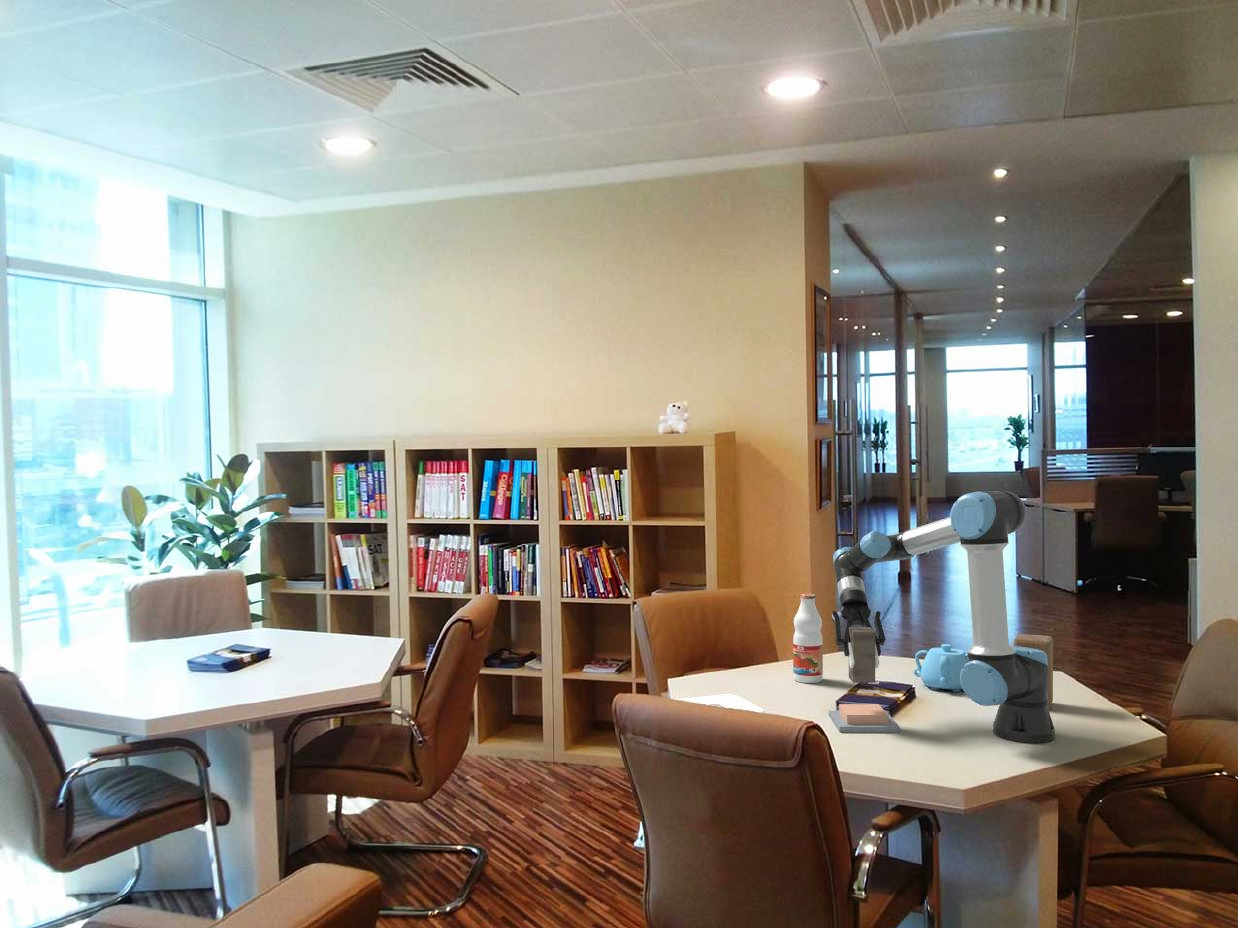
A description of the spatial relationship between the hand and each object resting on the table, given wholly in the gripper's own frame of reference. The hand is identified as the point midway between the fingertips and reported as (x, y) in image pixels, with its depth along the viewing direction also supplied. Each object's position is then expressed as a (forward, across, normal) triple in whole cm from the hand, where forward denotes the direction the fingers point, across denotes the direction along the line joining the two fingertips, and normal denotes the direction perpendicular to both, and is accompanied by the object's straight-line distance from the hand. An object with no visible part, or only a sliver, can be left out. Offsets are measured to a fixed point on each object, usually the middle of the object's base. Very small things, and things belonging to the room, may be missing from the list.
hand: (864, 665), depth 270 cm
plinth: (+10, 0, -14) cm, 17 cm away
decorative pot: (-19, -35, -43) cm, 58 cm away
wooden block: (-4, -54, -28) cm, 61 cm away
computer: (+3, +39, -22) cm, 45 cm away
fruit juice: (-25, +7, -50) cm, 56 cm away
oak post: (+1, 0, -6) cm, 6 cm away
